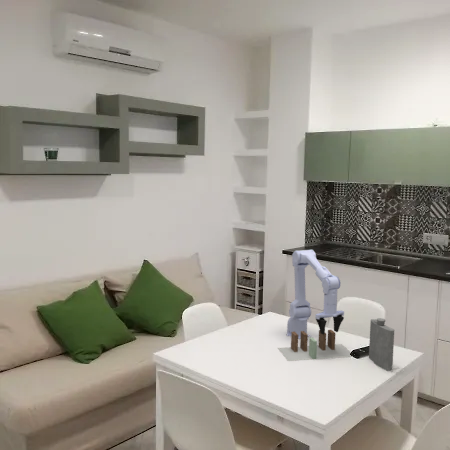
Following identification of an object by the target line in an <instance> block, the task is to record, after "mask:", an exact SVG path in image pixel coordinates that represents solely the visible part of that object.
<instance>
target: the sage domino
mask: <svg viewBox="0 0 450 450" xmlns="http://www.w3.org/2000/svg"><path fill="white" fill-rule="evenodd" d="M308 338H309V340H308V343H309V345H308V346H309V355H310V356H311V357H312V359H314V360H317V359H316V355H317V346H318V340H316V338H314V337H308Z"/></svg>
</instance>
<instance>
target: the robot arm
mask: <svg viewBox="0 0 450 450" xmlns="http://www.w3.org/2000/svg"><path fill="white" fill-rule="evenodd" d="M291 257H292V260H291V261H292V266H293V268H294V272H293V273H294V275H293V276H294V298H295V299H294V300H292V301H291V302H290V303H289V305H290V306H289V310H288V311H289V312H288V313H289V318H288V320H287V326H286V328H287V329H286V331H287V332H286V336H287V337H291V332H296V333H297V334H298V340H300V337H301V331H304V332H305V333H307V334H308V320H309V319H310V318H311V316H312V309H311V303H310V302H309V301H308V300H307V299H306V297H307V296H306V295H307V294H306V268H307V267H308V266H310V267H312V269H313V270H314V271H315V276H316V277H317V278H318V280H319V281H320V282H321V286H322V287H321V288H322V292H323V311H321V312H319V313H316V314H315V321H316V323H317V324H318V328H319V330H320V333H321V334H325V333H326V325H327V320H326V318H332V319H333V320H332V321H333V331H334V332H335V333H338V332H339V330H340V327H341V325H342V323H343V321H344V318H345V317H344V316H345V310H341V309H340V310H338V289H340V287H341V280H340V278H339V276H338V275H333V274H332V272H330V270H329V269H328V268H327V267H326V266H324V265H322V264H321V263H320V262H319V260H318V259H317V255H316V252H315V251H314V249H304V250H302V249H301V250H297V249H296V250H294V251H293V253H292V254H291ZM310 337H311V334H308V338H310Z"/></svg>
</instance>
